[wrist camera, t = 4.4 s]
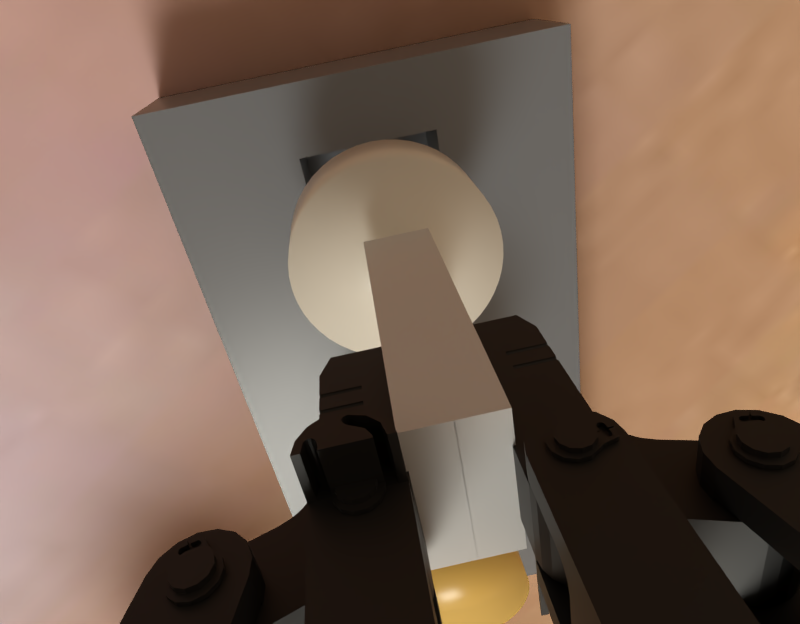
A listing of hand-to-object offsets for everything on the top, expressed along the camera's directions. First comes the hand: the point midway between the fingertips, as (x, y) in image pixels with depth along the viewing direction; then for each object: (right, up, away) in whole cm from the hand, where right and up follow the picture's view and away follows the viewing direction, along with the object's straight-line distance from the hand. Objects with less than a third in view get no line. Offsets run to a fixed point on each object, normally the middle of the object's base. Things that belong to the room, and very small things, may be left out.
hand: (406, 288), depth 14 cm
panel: (0, -2, +10) cm, 11 cm away
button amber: (+2, -10, +13) cm, 16 cm away
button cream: (-1, +3, +4) cm, 5 cm away
